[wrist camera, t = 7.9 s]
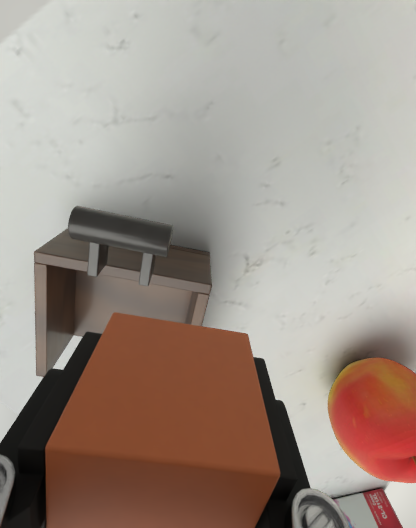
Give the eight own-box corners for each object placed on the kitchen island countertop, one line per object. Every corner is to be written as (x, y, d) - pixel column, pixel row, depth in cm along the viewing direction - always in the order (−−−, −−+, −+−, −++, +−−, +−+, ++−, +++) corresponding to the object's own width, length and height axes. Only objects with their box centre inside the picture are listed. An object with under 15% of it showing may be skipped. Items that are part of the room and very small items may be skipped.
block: (103, 409, 11) (45, 571, 7) (112, 310, 9) (43, 447, 5) (218, 424, 12) (228, 585, 7) (248, 332, 10) (283, 474, 6)
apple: (313, 342, 29) (364, 436, 20) (409, 330, 29) (505, 421, 20) (312, 409, 33) (355, 514, 24) (397, 399, 33) (473, 502, 24)
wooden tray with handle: (74, 173, 22) (0, 196, 14) (221, 206, 24) (231, 243, 15) (68, 328, 28) (14, 407, 20) (186, 348, 29) (181, 430, 21)
